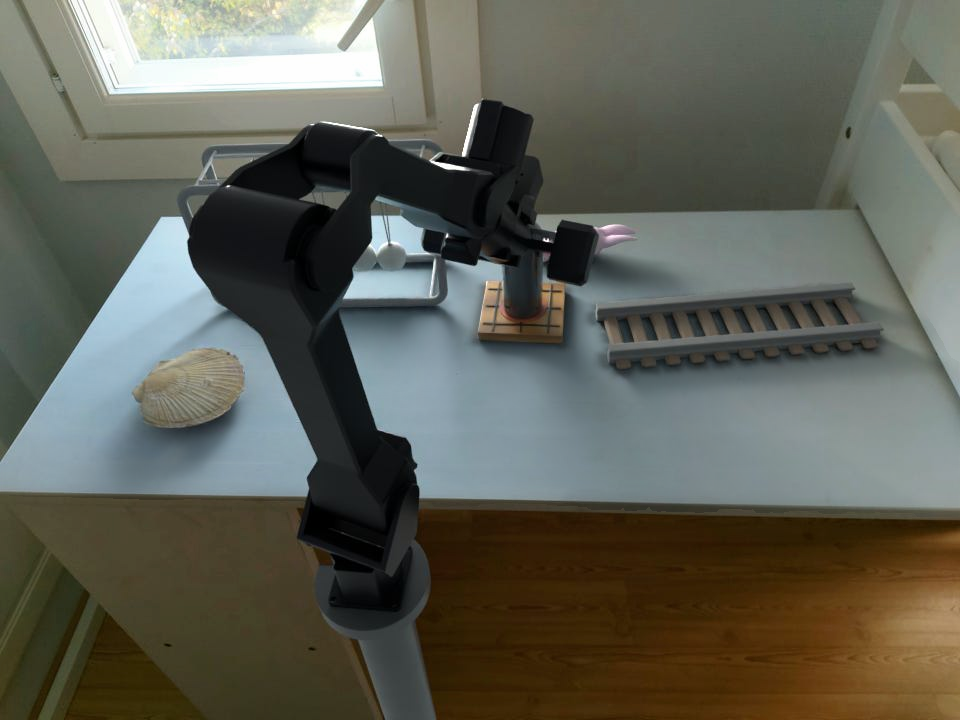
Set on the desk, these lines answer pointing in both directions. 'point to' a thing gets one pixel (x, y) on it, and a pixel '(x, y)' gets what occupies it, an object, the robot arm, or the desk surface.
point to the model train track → (735, 325)
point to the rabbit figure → (606, 237)
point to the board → (523, 330)
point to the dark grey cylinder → (524, 285)
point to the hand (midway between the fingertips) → (526, 254)
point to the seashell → (190, 388)
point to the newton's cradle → (388, 254)
